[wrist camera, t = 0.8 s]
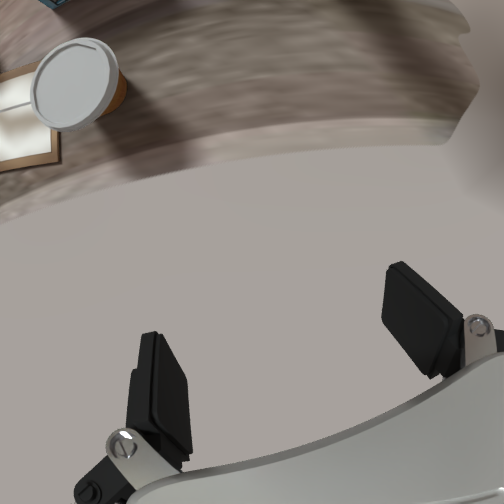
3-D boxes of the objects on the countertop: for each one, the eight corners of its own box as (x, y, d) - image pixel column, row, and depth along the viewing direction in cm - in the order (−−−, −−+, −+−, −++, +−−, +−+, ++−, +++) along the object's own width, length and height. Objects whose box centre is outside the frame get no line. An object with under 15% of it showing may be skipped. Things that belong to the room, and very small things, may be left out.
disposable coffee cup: (153, 95, 30) (134, 84, 19) (94, 141, 31) (55, 154, 20) (116, 43, 26) (86, 16, 15) (60, 90, 26) (12, 85, 16)
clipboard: (-33, 89, 20) (-38, 90, 18) (63, 55, 24) (58, 53, 23) (-32, 178, 26) (-37, 180, 25) (59, 160, 31) (54, 163, 29)
